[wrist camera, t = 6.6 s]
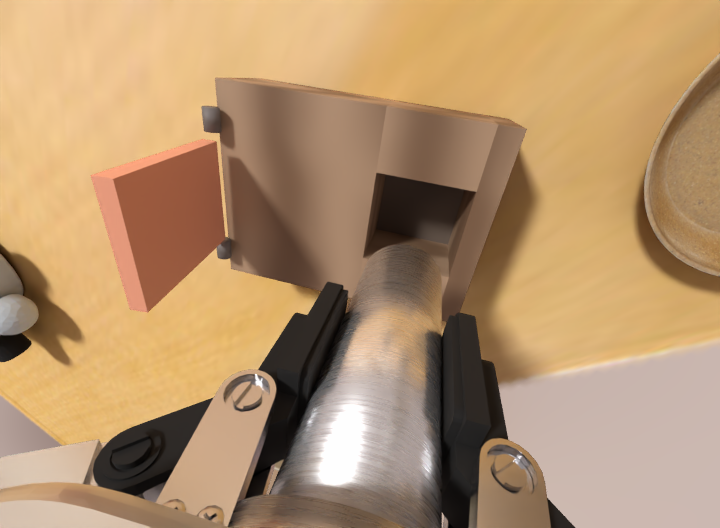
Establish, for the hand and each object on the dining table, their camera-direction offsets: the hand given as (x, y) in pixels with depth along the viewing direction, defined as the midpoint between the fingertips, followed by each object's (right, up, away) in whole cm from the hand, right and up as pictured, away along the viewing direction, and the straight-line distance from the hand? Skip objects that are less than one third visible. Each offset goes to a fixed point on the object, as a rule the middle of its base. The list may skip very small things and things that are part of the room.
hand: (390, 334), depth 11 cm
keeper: (-10, +5, +5) cm, 13 cm away
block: (-1, +8, +13) cm, 15 cm away
